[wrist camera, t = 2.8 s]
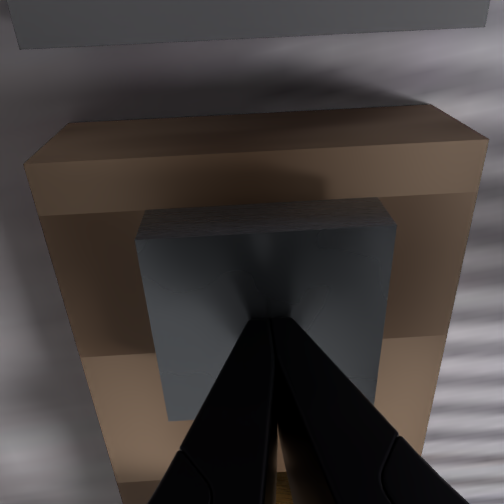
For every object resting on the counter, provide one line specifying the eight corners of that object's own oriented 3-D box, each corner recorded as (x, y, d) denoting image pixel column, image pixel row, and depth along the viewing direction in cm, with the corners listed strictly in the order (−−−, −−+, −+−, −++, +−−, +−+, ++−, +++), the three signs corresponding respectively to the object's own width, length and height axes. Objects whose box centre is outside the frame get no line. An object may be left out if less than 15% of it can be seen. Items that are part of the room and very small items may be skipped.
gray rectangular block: (340, 143, 12) (397, 225, 8) (331, 287, 14) (373, 407, 10) (165, 152, 12) (134, 239, 8) (185, 296, 14) (168, 421, 10)
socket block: (430, 104, 12) (489, 139, 9) (371, 508, 20) (393, 585, 18) (68, 123, 12) (23, 163, 9) (162, 523, 20) (152, 603, 17)
